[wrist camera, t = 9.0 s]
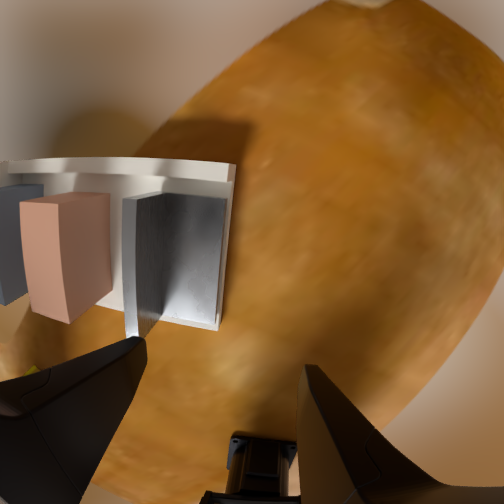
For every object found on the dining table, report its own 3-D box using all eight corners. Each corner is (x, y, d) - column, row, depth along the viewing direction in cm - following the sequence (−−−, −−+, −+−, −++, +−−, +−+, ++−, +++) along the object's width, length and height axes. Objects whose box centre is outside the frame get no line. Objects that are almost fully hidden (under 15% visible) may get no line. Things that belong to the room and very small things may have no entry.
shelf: (220, 324, 21) (198, 381, 14) (29, 278, 22) (-18, 304, 16) (236, 164, 18) (213, 160, 11) (24, 160, 19) (-31, 164, 12)
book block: (112, 290, 20) (69, 324, 14) (76, 282, 20) (32, 311, 15) (110, 193, 18) (58, 203, 13) (72, 191, 18) (19, 201, 13)
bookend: (216, 320, 19) (200, 358, 15) (154, 308, 19) (126, 341, 15) (227, 198, 17) (210, 207, 13) (157, 190, 17) (122, 198, 13)
